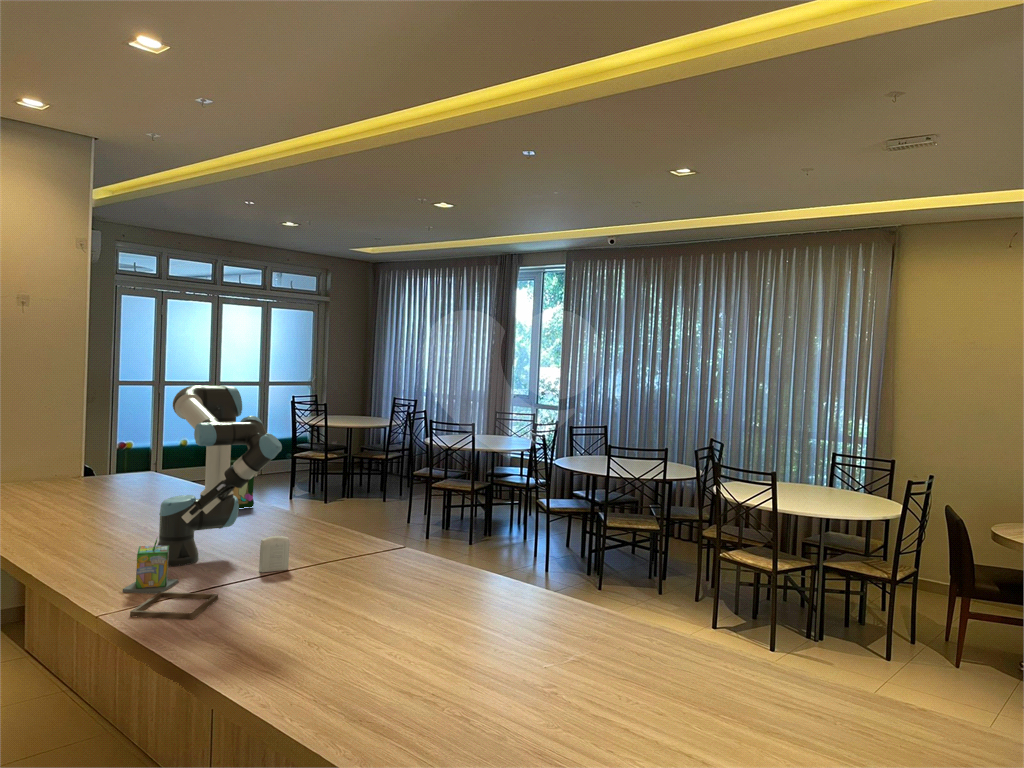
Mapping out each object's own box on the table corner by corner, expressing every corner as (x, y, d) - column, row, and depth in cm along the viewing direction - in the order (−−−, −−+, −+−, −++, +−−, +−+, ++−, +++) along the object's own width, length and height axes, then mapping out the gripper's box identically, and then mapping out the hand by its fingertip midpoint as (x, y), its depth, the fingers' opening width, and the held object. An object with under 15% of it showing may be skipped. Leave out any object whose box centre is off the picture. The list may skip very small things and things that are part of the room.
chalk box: (137, 580, 232) (138, 535, 231) (168, 578, 235) (169, 534, 235) (134, 589, 223) (136, 542, 223) (166, 587, 227) (168, 541, 226)
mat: (122, 592, 223) (122, 589, 223) (142, 580, 235) (142, 577, 235) (160, 594, 223) (160, 590, 223) (178, 582, 235) (178, 579, 235)
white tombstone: (286, 567, 258) (288, 533, 258) (289, 570, 254) (291, 536, 254) (257, 570, 252) (259, 536, 252) (260, 573, 249) (262, 539, 248)
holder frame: (130, 616, 203) (130, 611, 203) (160, 596, 221) (160, 591, 221) (192, 619, 203) (192, 614, 203) (218, 598, 221) (218, 594, 221)
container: (207, 507, 350) (209, 457, 350) (241, 502, 364) (242, 454, 363) (222, 512, 341) (224, 460, 340) (256, 507, 355) (258, 458, 354)
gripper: (233, 487, 219) (184, 532, 219) (262, 474, 244) (218, 515, 244) (217, 469, 218) (167, 515, 219) (248, 458, 243) (203, 499, 244)
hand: (194, 515), depth 232 cm, fingers open, 13 cm apart
